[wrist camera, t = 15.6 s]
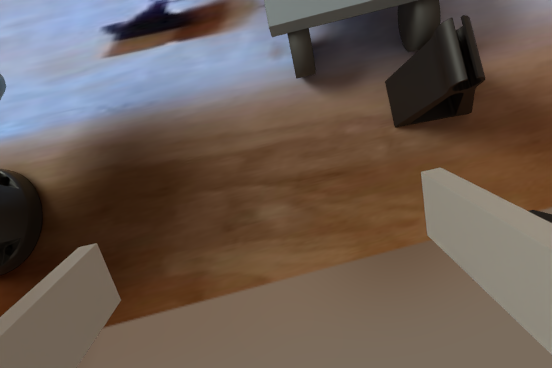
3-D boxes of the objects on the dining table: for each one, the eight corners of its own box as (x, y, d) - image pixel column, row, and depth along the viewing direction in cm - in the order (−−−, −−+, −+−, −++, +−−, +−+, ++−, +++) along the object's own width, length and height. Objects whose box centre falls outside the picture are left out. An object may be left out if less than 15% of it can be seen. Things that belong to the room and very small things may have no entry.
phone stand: (459, 67, 42) (510, 4, 30) (470, 113, 41) (528, 67, 29) (384, 82, 43) (406, 27, 31) (393, 127, 42) (420, 88, 30)
